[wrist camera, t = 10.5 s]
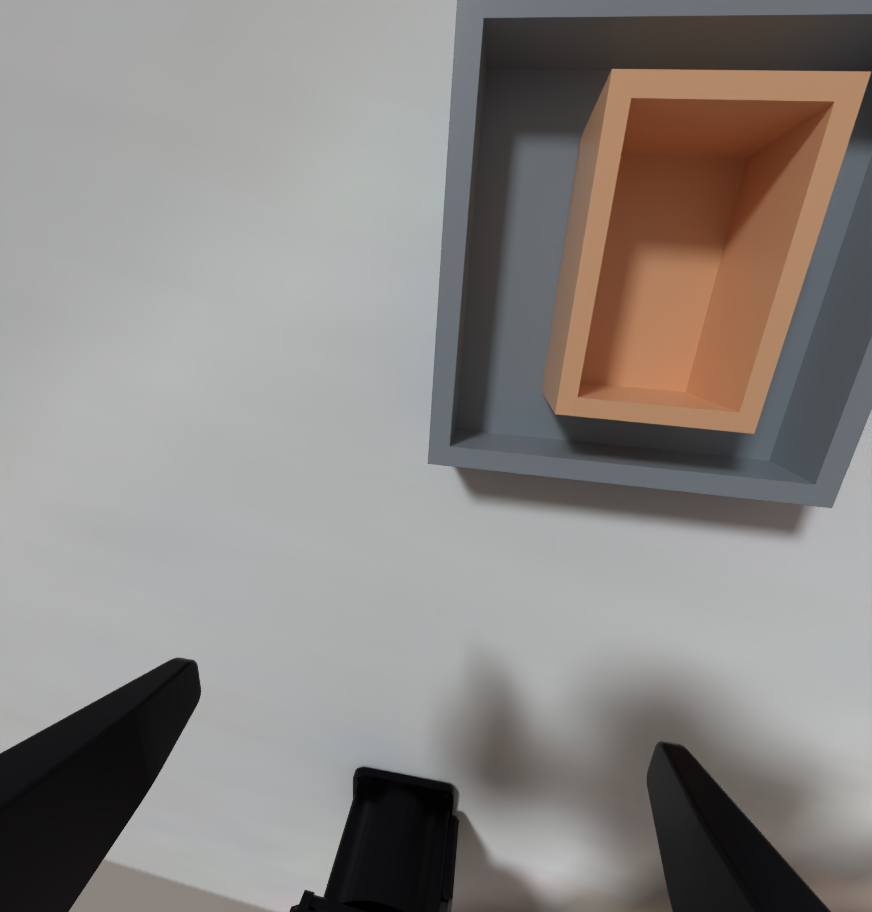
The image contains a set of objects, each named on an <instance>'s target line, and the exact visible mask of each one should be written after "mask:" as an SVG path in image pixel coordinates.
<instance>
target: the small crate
mask: <svg viewBox="0 0 872 912" xmlns="http://www.w3.org/2000/svg"><path fill="white" fill-rule="evenodd" d="M870 75H871V72H867V71H769V70H671V69H612V70H611V72H610V74H609V76H608V79H607V81H606V83H605V85H604V87H603V90H602V92H601V94H600V96H599V98H598V101H597V103H596V105H595V107H594V110H593V112H592V114H591V116H590V118H589V121H588V123H587V125H586V127H585V129H584V132H583V134H582V136H581V138H580V142H579V149H578V156H577V162H576V169H575V175H574V182H573V189H572V195H571V202H570V208H569V215H568V222H567V228H566V235H565V241H564V248H563V254H562V261H561V268H560V274H559V281H558V287H557V294H556V301H555V307H554V314H553V320H552V327H551V334H550V340H549V347H548V353H547V360H546V366H545V373H544V380H543V386H542V393H543V394H544V396H545V398H546V400H547V401H548V403H549V405H550V406H551V408H552V410H553V412H554V413H555V414H558V415H568V416H579V417H589V418H599V419H609V420H619V421H629V422H639V423H649V424H660V425H670V426H680V427H690V428H700V429H710V430H720V431H730V432H740V433H751V434H754V433H755V430H756V427H757V424H758V421H759V418H760V415H761V412H762V408H763V405H764V402H765V399H766V396H767V393H768V390H769V387H770V384H771V381H772V378H773V374H774V371H775V368H776V365H777V362H778V359H779V356H780V353H781V350H782V347H783V344H784V340H785V337H786V334H787V331H788V328H789V325H790V322H791V319H792V316H793V313H794V310H795V306H796V303H797V300H798V297H799V294H800V291H801V288H802V285H803V282H804V279H805V276H806V272H807V269H808V266H809V263H810V260H811V257H812V254H813V251H814V248H815V245H816V242H817V238H818V235H819V232H820V229H821V226H822V223H823V220H824V217H825V214H826V211H827V207H828V204H829V201H830V198H831V195H832V192H833V189H834V186H835V183H836V180H837V177H838V173H839V170H840V167H841V164H842V161H843V158H844V155H845V152H846V149H847V146H848V143H849V139H850V136H851V133H852V130H853V127H854V124H855V121H856V118H857V115H858V112H859V109H860V105H861V102H862V99H863V96H864V93H865V90H866V87H867V84H868V81H869V78H870Z"/></svg>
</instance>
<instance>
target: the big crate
mask: <svg viewBox="0 0 872 912" xmlns="http://www.w3.org/2000/svg"><path fill="white" fill-rule="evenodd" d="M612 69H671V70H769V71H867V72H871V75H870V78H869V81H868V84H867V87H866V90H865V93H864V96H863V99H862V102H861V105H860V109H859V112H858V115H857V118H856V121H855V124H854V127H853V130H852V133H851V136H850V139H849V143H848V146H847V149H846V152H845V155H844V158H843V161H842V164H841V167H840V170H839V173H838V177H837V180H836V183H835V186H834V189H833V192H832V195H831V198H830V201H829V204H828V207H827V211H826V214H825V217H824V220H823V223H822V226H821V229H820V232H819V235H818V238H817V242H816V245H815V248H814V251H813V254H812V257H811V260H810V263H809V266H808V269H807V272H806V276H805V279H804V282H803V285H802V288H801V291H800V294H799V297H798V300H797V303H796V306H795V310H794V313H793V316H792V319H791V322H790V325H789V328H788V331H787V334H786V337H785V340H784V344H783V347H782V350H781V353H780V356H779V359H778V362H777V365H776V368H775V371H774V374H773V378H772V381H771V384H770V387H769V390H768V393H767V396H766V399H765V402H764V405H763V408H762V412H761V415H760V418H759V421H758V424H757V427H756V430H755V433H754V434H751V433H740V432H730V431H720V430H710V429H700V428H690V427H680V426H670V425H660V424H649V423H639V422H629V421H619V420H609V419H599V418H589V417H579V416H568V415H558V414H555V413H554V412H553V410H552V408H551V406H550V405H549V403H548V401H547V400H546V398H545V396H544V394H543V393H542V386H543V380H544V373H545V366H546V360H547V353H548V347H549V340H550V334H551V327H552V320H553V314H554V307H555V301H556V294H557V287H558V281H559V274H560V268H561V261H562V254H563V248H564V241H565V235H566V228H567V222H568V215H569V208H570V202H571V195H572V189H573V182H574V175H575V169H576V162H577V156H578V149H579V142H580V138H581V136H582V134H583V132H584V129H585V127H586V125H587V123H588V121H589V118H590V116H591V114H592V112H593V110H594V107H595V105H596V103H597V101H598V98H599V96H600V94H601V92H602V90H603V87H604V85H605V83H606V81H607V79H608V76H609V74H610V72H611V70H612ZM871 409H872V0H457V12H456V27H455V43H454V59H453V75H452V91H451V106H450V122H449V138H448V154H447V170H446V186H445V201H444V217H443V233H442V249H441V265H440V280H439V296H438V312H437V328H436V344H435V359H434V375H433V391H432V407H431V423H430V439H429V454H428V464H435V465H444V466H454V467H463V468H472V469H481V470H490V471H499V472H508V473H517V474H526V475H536V476H545V477H554V478H563V479H572V480H581V481H590V482H599V483H608V484H618V485H627V486H636V487H645V488H654V489H663V490H672V491H681V492H690V493H700V494H709V495H718V496H727V497H736V498H745V499H754V500H763V501H772V502H782V503H791V504H800V505H809V506H818V507H827V508H832V507H833V504H834V502H835V499H836V497H837V494H838V492H839V489H840V487H841V484H842V482H843V479H844V477H845V474H846V472H847V469H848V467H849V464H850V462H851V459H852V457H853V454H854V452H855V449H856V447H857V444H858V442H859V439H860V437H861V434H862V432H863V429H864V427H865V424H866V422H867V419H868V417H869V414H870V412H871Z"/></svg>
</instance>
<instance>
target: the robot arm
mask: <svg viewBox="0 0 872 912" xmlns="http://www.w3.org/2000/svg"><path fill="white" fill-rule="evenodd" d="M200 695H201V686H200V679H199V672H198V665H197V663H196V662H195V661H194V660H190V659H185V658H174V659H171V660H169V661H168V662H166V663H164V664H162V665H160V666H159V667H157V668H155V669H153V670H151V671H149V672H148V673H146V674H144V675H142V676H140V677H139V678H137V679H135V680H133V681H131V682H129V683H128V684H126V685H124V686H122V687H120V688H119V689H117V690H115V691H113V692H111V693H109V694H108V695H106V696H104V697H102V698H100V699H99V700H97V701H95V702H93V703H91V704H89V705H88V706H86V707H84V708H82V709H80V710H79V711H77V712H75V713H73V714H71V715H69V716H68V717H66V718H64V719H62V720H60V721H59V722H57V723H55V724H53V725H51V726H50V727H48V728H46V729H44V730H42V731H40V732H39V733H37V734H35V735H33V736H31V737H30V738H28V739H26V740H24V741H22V742H20V743H19V744H17V745H15V746H13V747H11V748H10V749H8V750H6V751H4V752H2V753H0V912H68V911H69V910H70V908H71V907H72V905H73V904H74V902H75V901H76V899H77V898H78V896H79V895H80V893H81V892H82V890H83V889H84V887H85V886H86V884H87V883H88V881H89V880H90V878H91V877H92V875H93V874H94V872H95V871H96V869H97V868H98V866H99V865H100V863H101V862H102V860H103V859H104V857H105V856H106V854H107V853H108V851H109V850H110V848H111V847H112V845H113V844H114V842H115V841H116V839H117V838H118V836H119V835H120V833H121V832H122V830H123V829H124V827H125V826H126V824H127V823H128V821H129V820H130V818H131V817H132V815H133V814H134V812H135V811H136V809H137V808H138V806H139V805H140V803H141V802H142V800H143V799H144V797H145V796H146V794H147V792H148V791H149V789H150V788H151V786H152V784H153V783H154V781H155V779H156V778H157V776H158V774H159V773H160V771H161V769H162V767H163V765H164V764H165V762H166V760H167V758H168V756H169V755H170V753H171V751H172V749H173V747H174V746H175V744H176V742H177V740H178V738H179V737H180V735H181V733H182V731H183V729H184V728H185V726H186V724H187V722H188V720H189V719H190V717H191V715H192V713H193V711H194V710H195V708H196V706H197V704H198V702H199V699H200ZM647 787H648V792H649V797H650V803H651V808H652V813H653V818H654V823H655V828H656V834H657V839H658V844H659V849H660V854H661V859H662V865H663V870H664V875H665V880H666V884H667V889H668V894H669V898H670V902H671V906H672V910H673V912H831V911H830V910H829V909H828V908H827V907H826V905H825V904H824V903H823V902H822V901H821V900H820V899H819V898H818V896H817V895H816V894H815V893H814V892H813V891H812V890H811V889H810V887H809V886H808V885H807V884H806V883H805V882H804V881H803V880H802V878H801V877H800V876H799V875H798V874H797V873H796V872H795V870H794V869H793V868H792V867H791V866H790V865H789V864H788V863H787V861H786V860H785V859H784V858H783V857H782V856H781V855H780V854H779V852H778V851H777V850H776V849H775V848H774V847H773V846H772V845H771V843H770V842H769V841H768V840H767V839H766V838H765V837H764V835H763V834H762V833H761V832H760V831H759V830H758V829H757V828H756V826H755V825H754V824H753V823H752V822H751V821H750V820H749V819H748V817H747V816H746V815H745V814H744V813H743V812H742V811H741V810H740V808H739V807H738V806H737V805H736V804H735V803H734V802H733V800H732V799H731V798H730V797H729V796H728V795H727V794H726V793H725V791H724V790H723V789H722V788H721V787H720V786H719V785H718V784H717V782H716V781H715V780H714V779H713V778H712V777H711V776H710V775H709V773H708V772H707V771H706V770H705V769H704V768H703V767H702V765H701V764H700V763H699V762H698V761H697V760H696V759H695V758H694V756H693V755H692V754H691V753H690V752H689V751H688V750H687V749H686V748H685V747H684V746H682V745H680V744H675V743H669V742H664V741H660V742H658V743H657V744H656V746H655V750H654V753H653V756H652V759H651V762H650V765H649V769H648V772H647ZM453 799H454V789H453V787H452V786H450V785H448V784H443V783H438V782H433V781H428V780H422V779H417V778H412V777H407V776H402V775H397V774H392V773H387V772H381V771H376V770H371V769H366V768H357V769H356V771H355V774H354V777H353V801H352V805H351V808H350V811H349V815H348V818H347V821H346V825H345V828H344V831H343V834H342V838H341V841H340V844H339V848H338V851H337V854H336V858H335V861H334V864H333V868H332V871H331V874H330V877H329V881H328V884H327V887H326V891H325V894H324V897H320V896H316V895H314V892H311V891H308V890H305V891H304V894H303V896H302V899H301V901H300V904H299V905H295V906H292V907H291V909H290V912H451V906H452V898H453V886H454V873H455V861H456V848H457V836H458V823H459V820H458V819H457V817H456V816H454V815H452V808H453Z"/></svg>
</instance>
